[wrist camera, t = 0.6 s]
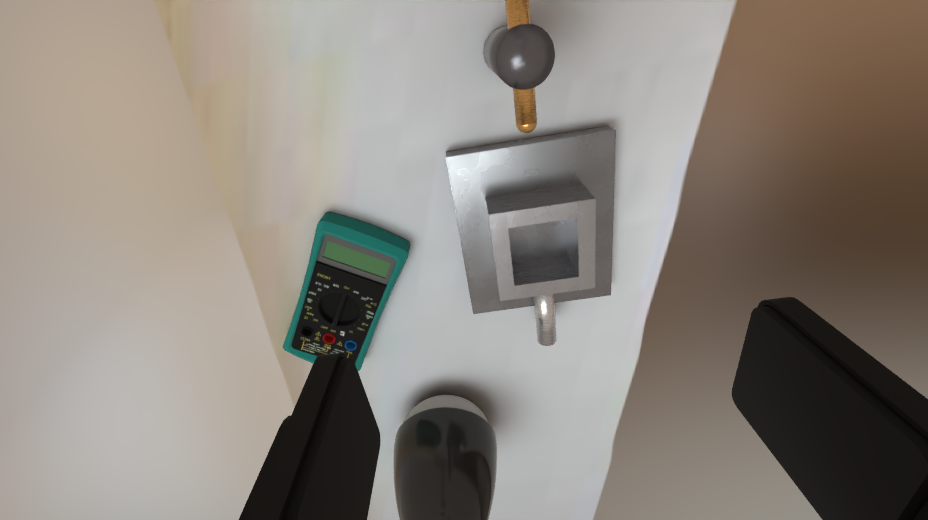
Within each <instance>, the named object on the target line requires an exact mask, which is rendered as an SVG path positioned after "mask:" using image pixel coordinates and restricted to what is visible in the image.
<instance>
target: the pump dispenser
mask: <svg viewBox="0 0 928 520" xmlns="http://www.w3.org/2000/svg"><path fill="white" fill-rule="evenodd" d="M496 469H497V443H496V436H495V433H494V430H493V429H492V427H491V426H490V424H489V423H488V420H487V419H486V417H485V415H484V414H483V412H482V411H481V410H480V409H479V408H478V407H477V406H476V405H475V404H473V403H472V402H470V401H469V400H467V399H465V398H462V397H459V396H454V395H438V396H434V397H430V398H428V399H426V400H424V401H422V402H420V403H419V404H418V405H416V406H415V407H414V408H413V409H412V410H411V411H410V412H409V414H408V415H407V417H406V418H405V420H404V422H403V424H402V425H401V426H400V428H399V429H398V431H397V434H396V437H395V444H394V486H395V495H396V502H397V508H398V513H399V518H400V520H488V519H489V515H490V511H491V506H492V501H493V496H494V490H495V482H496Z"/></svg>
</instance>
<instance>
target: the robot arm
mask: <svg viewBox="0 0 928 520" xmlns="http://www.w3.org/2000/svg"><path fill="white" fill-rule="evenodd" d="M732 397H733V400H734V403H735V405H736V406H737V408H738V409H739V411H740V412H741V413H742V414H743V416H744V417H745V418H746V419H747V421H748V422H749V424H750V425H751V426H752V428H753V429H754V430H755V432H756V433H757V434H758V435H759V437H760V438H761V439H762V441H763V442H764V443H765V445H766V446H767V447H768V449H769V450H770V451H771V453H772V454H773V455H774V456H775V458H776V459H777V460H778V462H779V463H780V464H781V466H782V467H783V468H784V469H785V471H786V472H787V473H788V475H789V476H790V477H791V479H792V480H793V481H794V483H795V484H796V485H797V487H798V488H799V489H800V491H801V492H802V493H803V495H804V496H805V497H806V498H807V500H808V501H809V502H810V504H811V505H812V506H813V507H814V509H815V510H816V512H817V513H818V514H819V516H820V517H821V518H822V519H823V520H928V399H927V398H925V397H924V396H923V395H921V394H920V393H919V392H917V391H916V390H915V389H913V388H912V387H911V386H910V385H908V384H907V383H906V382H905V381H903V380H902V379H901V378H899V377H898V376H897V375H895V374H894V373H893V372H892V371H890V370H889V369H887V368H886V367H885V366H884V365H882V364H881V363H880V362H879V361H877V360H876V359H875V358H873V357H872V356H871V355H869V354H868V353H867V352H865V351H864V350H863V349H861V348H860V347H859V346H858V345H856V344H855V343H854V342H852V341H851V340H850V339H848V338H847V337H846V336H845V335H843V334H842V333H841V332H839V331H838V330H837V329H836V328H834V327H833V326H832V325H830V324H829V323H828V322H826V321H825V320H824V319H822V318H821V317H820V316H819V315H817V314H816V313H815V312H813V311H812V310H811V309H810V308H808V307H807V306H806V305H804V304H803V303H802V302H800V301H799V300H797V299H795V298H793V297H786V298H778V299H770V300H764V301H761V302H760V303H759V305H758V307H757V308H755V309H754V310H753V311H752V313H751V318H750V322H749V325H748V329H747V333H746V337H745V341H744V345H743V349H742V352H741V357H740V361H739V364H738V368H737V372H736V376H735V380H734V384H733V388H732ZM379 449H380V432H379V429H378V426H377V423H376V420H375V418H374V415H373V412H372V409H371V407H370V404H369V401H368V398H367V396H366V393H365V390H364V387H363V385H362V382H361V379H360V376H359V374H358V371H357V368H356V365H355V363H354V360H353V359H352V358H346V356H345V354H344V353H334V354H326V355H319V356H317V358H316V359H315V361H314V364H313V366H312V368H311V371H310V373H309V375H308V378H307V380H306V383H305V385H304V387H303V390H302V392H301V394H300V397H299V399H298V401H297V404H296V406H295V408H294V411H293V413H292V415H291V416H288V417H287V418H286V419H285V420H284V421H283V423H282V424H281V426H280V428H279V430H278V432H277V435H276V437H275V439H274V442H273V444H272V446H271V448H270V450H269V453H268V455H267V457H266V459H265V462H264V464H263V466H262V468H261V471H260V473H259V475H258V477H257V480H256V482H255V484H254V486H253V489H252V491H251V493H250V495H249V498H248V500H247V502H246V504H245V507H244V509H243V512H242V514H241V516H240V518H239V520H367V516H368V510H369V505H370V499H371V494H372V488H373V482H374V477H375V471H376V466H377V460H378V455H379Z"/></svg>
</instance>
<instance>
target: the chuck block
mask: <svg viewBox="0 0 928 520" xmlns="http://www.w3.org/2000/svg"><path fill="white" fill-rule="evenodd" d="M615 139H616V130H614V129H613V128H611V127H609V126H603V127H597V128H591V129H585V130H578V131H572V132H566V133H560V134H553V135H547V136H541V137H535V138H529V139H522V140H516V141H510V142H504V143H497V144H491V145H485V146H479V147H473V148H466V149H460V150H454V151H448V152H446V162H447V167H448V173H449V179H450V184H451V190H452V196H453V201H454V207H455V213H456V218H457V224H458V230H459V235H460V241H461V247H462V252H463V258H464V264H465V269H466V275H467V281H468V286H469V292H470V297H471V303H472V309H473V314H477V313H484V312H491V311H499V310H506V309H513V308H520V307H528V306H535V315H536V327H537V339H538V342H539V343H540V344H541V345H545V346H549V345H553V344H554V343H555V342H556V323H555V304H554V303H557V302H564V301H571V300H578V299H586V298H593V297H600V296H607V295H611V273H612V240H613V206H614V173H615Z"/></svg>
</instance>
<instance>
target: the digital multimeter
mask: <svg viewBox="0 0 928 520" xmlns="http://www.w3.org/2000/svg"><path fill="white" fill-rule="evenodd" d="M409 249H410V244H409V242H408V241H406V240H404V239H402V238H400V237H398V236H396V235H394V234H392V233H389V232H387V231H385V230H383V229H380V228H378V227H375V226H373V225H370V224H367V223H365V222H362V221H359V220H355V219H352V218H349V217H346V216H342V215H338V214H335V213H331V212H328V213H325V215H324V216H323V217H322V219H321V220H320V221H319V223H318V224H317V228H316V233H315V237H314V242H313V246H312V251H311V255H310V260H309V264H308V268H307V272H306V275H305V279H304V283H303V287H302V290H301V294H300V298H299V301H298V304H297V307H296V310H295V313H294V316H293V319H292V322H291V325H290V328H289V331H288V333H287V336H286V339H285V342H284V344H283V349H284V350H285V351H287V352H289V353H291V354H293V355H295V356H297V357H300V358H302V359H304V360H307V361H309V362H311V363H314V361H315V359H316V358H317V356H319V355H326V354H334V353H344V354H345V356H346V358H352V359H353V360H354V363H355V365H356V368H357V371H359V370H360V369H361V367H362V364H363V361H364V358H365V355H366V352H367V349H368V347H369V344H370V341H371V339H372V336H373V333H374V331H375V328H376V325H377V323H378V320H379V318H380V316H381V314H382V311H383V309H384V307H385V304H386V302H387V300H388V297H389V295H390V293H391V291H392V289H393V287H394V285H395V283H396V280H397V278H398V276H399V274H400V272H401V270H402V268H403V266H404V264H405V262H406V260H407V258H408V254H409ZM318 299H319V300H318ZM316 309H317V310H316ZM298 320H299V321H298ZM350 326H351V327H350ZM346 327H347V328H346ZM295 330H296V331H295Z"/></svg>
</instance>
